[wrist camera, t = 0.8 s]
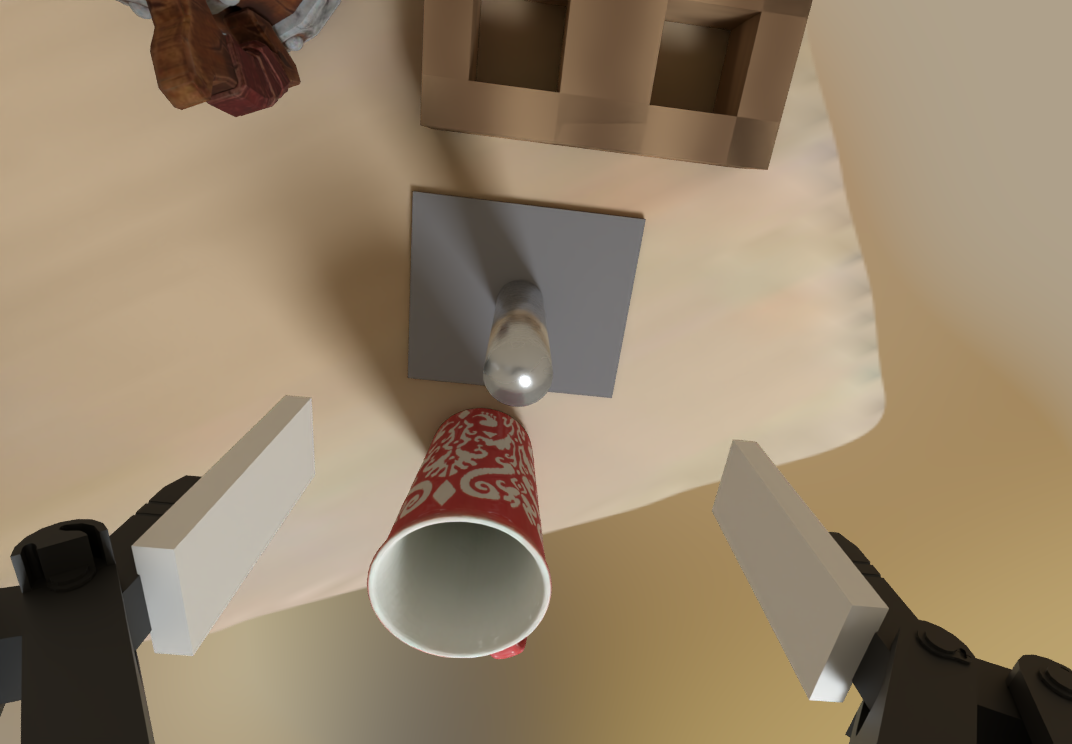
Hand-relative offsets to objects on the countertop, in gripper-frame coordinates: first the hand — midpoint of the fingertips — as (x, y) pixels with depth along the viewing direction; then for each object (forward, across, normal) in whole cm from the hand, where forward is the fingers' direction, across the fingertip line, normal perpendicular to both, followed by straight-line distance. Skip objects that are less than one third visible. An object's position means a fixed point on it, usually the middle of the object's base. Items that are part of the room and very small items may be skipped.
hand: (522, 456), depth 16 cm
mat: (+19, 0, 0) cm, 19 cm away
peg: (+19, 0, 0) cm, 19 cm away
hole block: (+19, +3, +14) cm, 24 cm away
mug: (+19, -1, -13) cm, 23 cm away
